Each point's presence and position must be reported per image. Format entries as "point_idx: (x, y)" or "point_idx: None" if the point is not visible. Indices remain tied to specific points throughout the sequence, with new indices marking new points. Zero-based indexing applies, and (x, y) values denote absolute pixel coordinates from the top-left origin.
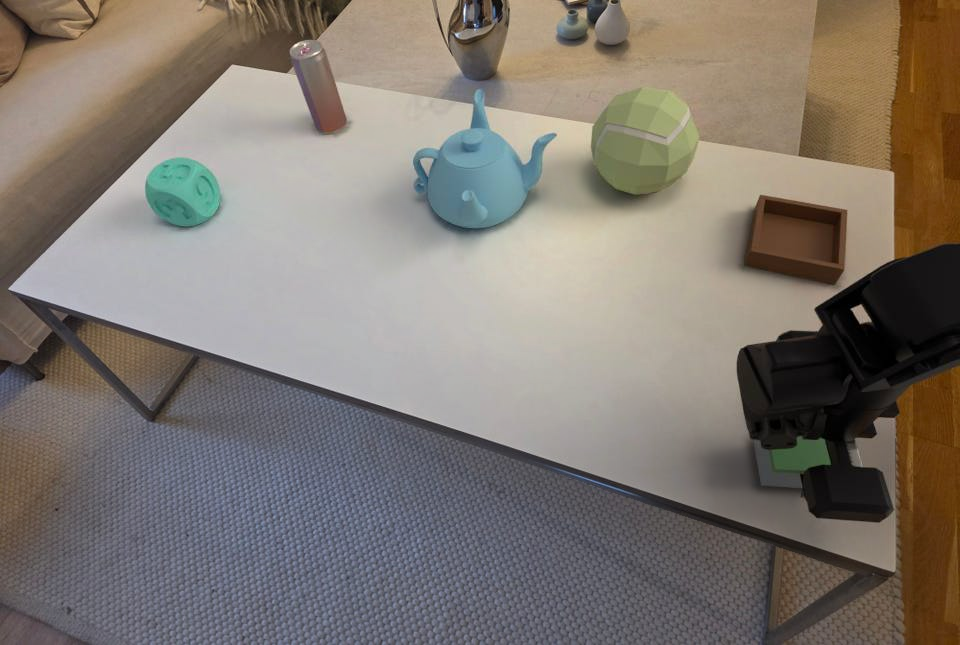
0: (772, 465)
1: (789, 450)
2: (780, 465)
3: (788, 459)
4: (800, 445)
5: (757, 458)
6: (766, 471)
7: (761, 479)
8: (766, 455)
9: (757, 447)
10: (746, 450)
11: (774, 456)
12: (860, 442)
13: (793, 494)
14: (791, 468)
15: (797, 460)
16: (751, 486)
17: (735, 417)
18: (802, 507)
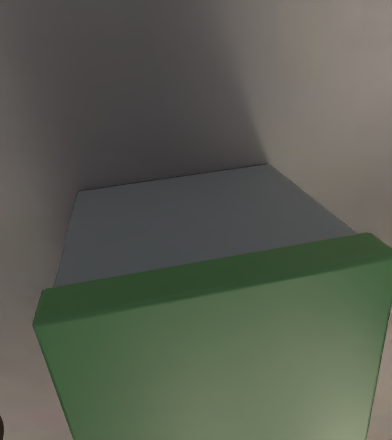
0: (78, 295)
1: (206, 388)
2: (76, 353)
3: (139, 387)
4: (248, 429)
5: (198, 178)
6: (102, 228)
7: (97, 194)
8: (184, 235)
9: (246, 180)
10: (234, 133)
11: (142, 315)
12: None
13: None
14: (73, 408)
15: (143, 429)
16: (61, 151)
17: (387, 88)
18: (32, 326)
